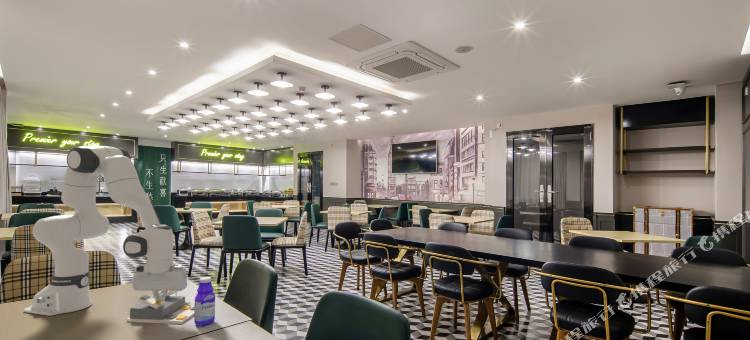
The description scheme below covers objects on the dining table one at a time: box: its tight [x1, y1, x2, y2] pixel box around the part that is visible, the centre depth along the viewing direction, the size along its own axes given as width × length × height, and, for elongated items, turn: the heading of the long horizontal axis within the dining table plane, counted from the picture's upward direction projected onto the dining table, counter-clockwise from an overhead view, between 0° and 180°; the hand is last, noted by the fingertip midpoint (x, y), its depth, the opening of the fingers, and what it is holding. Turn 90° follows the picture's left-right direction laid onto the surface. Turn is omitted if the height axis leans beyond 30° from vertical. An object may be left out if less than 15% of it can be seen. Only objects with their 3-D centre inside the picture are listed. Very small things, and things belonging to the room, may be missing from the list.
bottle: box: [193, 276, 216, 327], centre depth 139 cm, size 7×6×17 cm
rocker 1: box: [137, 294, 164, 309], centre depth 141 cm, size 8×4×2 cm, turn 87°
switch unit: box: [125, 295, 195, 325], centre depth 146 cm, size 22×16×6 cm
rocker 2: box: [154, 291, 179, 298], centre depth 151 cm, size 8×4×2 cm, turn 88°
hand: (160, 301), depth 141 cm, fingers closed
